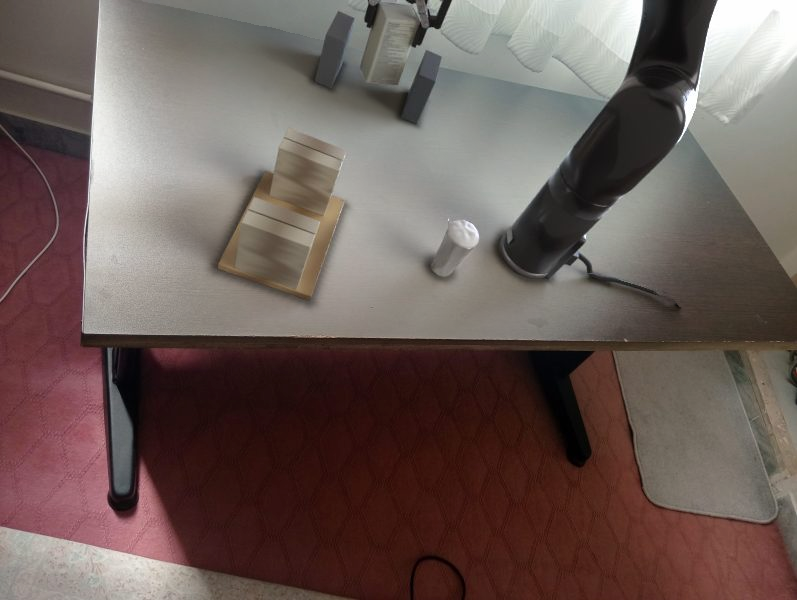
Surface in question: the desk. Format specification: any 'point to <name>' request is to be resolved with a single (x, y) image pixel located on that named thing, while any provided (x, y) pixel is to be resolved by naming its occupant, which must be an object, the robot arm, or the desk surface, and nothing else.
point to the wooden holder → (289, 218)
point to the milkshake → (454, 247)
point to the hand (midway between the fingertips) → (392, 35)
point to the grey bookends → (335, 55)
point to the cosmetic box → (389, 43)
